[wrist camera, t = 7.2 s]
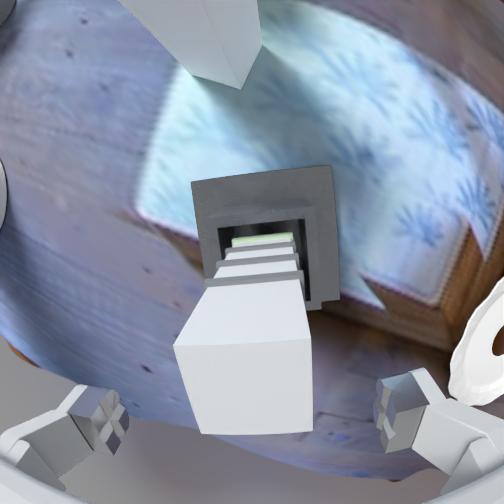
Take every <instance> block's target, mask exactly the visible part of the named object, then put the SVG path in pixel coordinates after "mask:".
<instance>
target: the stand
mask: <svg viewBox="0 0 504 504" xmlns="http://www.w3.org/2000/svg"><path fill="white" fill-rule="evenodd" d="M191 188H192V195H193V202H194V209H195V216H196V223H197V229H198V236H199V242H200V248H201V254H202V260H203V266H204V272H205V278H206V279H210V278H214V276H215V274H216V273H217V269H216V263H217V261H222V260H225V258H226V254H225V250H226V248H232V239H233V238H238V237H243V236H252V235H262V234H271V233H281V232H289V233H290V232H292V234H293V241H295V247H296V253H298V255H299V266H300V270H303V274H304V288H305V303H306V311H309V310H318V309H322V306H321V302H323V301H331V300H340V282H339V256H338V237H337V222H336V209H335V197H334V187H333V177H332V167H331V166H318V167H306V168H295V169H284V170H275V171H266V172H257V173H249V174H241V175H233V176H226V177H219V178H212V179H206V180H199V181H193V182H191Z"/></svg>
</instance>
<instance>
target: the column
mask: <svg viewBox="0 0 504 504" xmlns="http://www.w3.org/2000/svg"><path fill="white" fill-rule="evenodd" d="M225 254H226V258H225V260H222V261H217V263H216V269H217V273H216V274H215V276H214V278H210V279H205V281H204V282H203V288H204V294H203V296H202V298H201V299H200V301H199V303H198V304H197V306H196V308H195V309H194V311H193V313H192V314H191V316H190V318H189V319H188V321H187V323H186V324H185V326H184V328H183V329H182V331H181V333H180V334H179V336H178V338H177V340H176V341H175V343H174V345H173V347H174V351H175V354H176V358H177V361H178V365H179V368H180V371H181V375H182V378H183V381H184V384H185V388H186V391H187V394H188V397H189V400H190V403H191V406H192V409H193V412H194V415H195V418H196V420H197V423H198V426H199V429H200V432H201V434H224V435H255V434H280V433H295V432H306V431H313V398H312V354H311V336H310V331H309V325H308V320H307V315H306V303H305V288H304V274H303V270H300V266H299V255H298V253H296V247H295V241H293V234H292V232H290V233H289V232H281V233H271V234H262V235H252V236H243V237H238V238H233V239H232V248H226V250H225Z"/></svg>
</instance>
